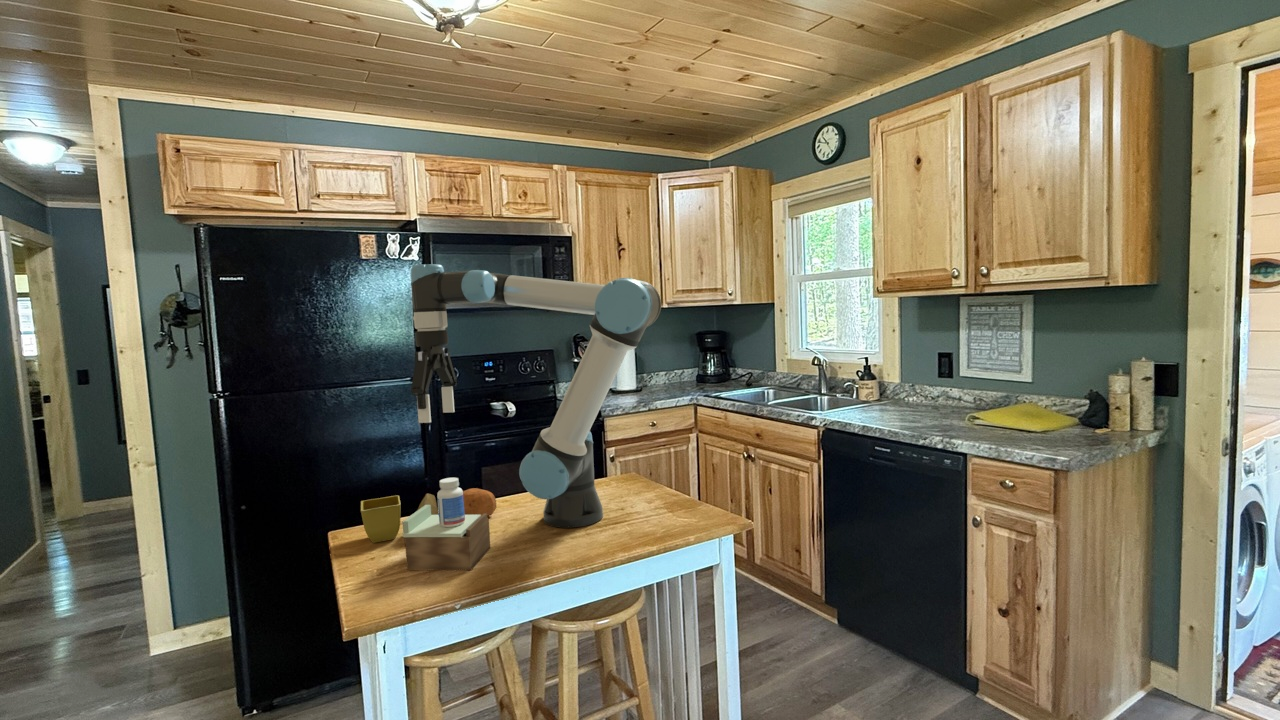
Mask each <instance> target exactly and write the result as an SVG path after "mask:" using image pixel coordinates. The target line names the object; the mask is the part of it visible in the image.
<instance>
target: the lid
mask: <svg viewBox="0 0 1280 720" xmlns="http://www.w3.org/2000/svg"><path fill="white" fill-rule="evenodd" d="M417 510H418V509H417ZM417 510H416V511H415V512H414V513H412V514H410V516H408V517H407V518H405V519H404V520H403V521H402V523H401V524H402V538H405V537H462V536H463V535H464V534H465V533H466V530H467V529H468V528H469V527H470V526H471V525H472V524H473V523H474V522H475V521H476V520H477V519H478V518H479V517H480V516H481V515H465V522H464V523H463V524H461V525H458V526H455V527H442V526H441V525H440V523H439V515H431V505H425V506H423V507H422V508H420V509H419V510H418V511H417Z"/></svg>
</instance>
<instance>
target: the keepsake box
mask: <svg viewBox="0 0 1280 720" xmlns="http://www.w3.org/2000/svg"><path fill="white" fill-rule="evenodd" d="M490 533H491V532H490V519H489V517H488V516H487V513H484V514H482V515H481V516H480V517H479V518H478V519H477V520H476V521H475V522H474V523H473V524H472V525H471V526H470V527H469V528H468V529H467V530H466V533H465V534H464V535H463V536H462V537H404V541H405V542H404V543H405V544H404V545H405V555H406V556H405V557H406V558H405V559H406V567H407V568H406V570H407V571H472V570H473V569H474V568H475V566H476V565H477V564H478V563H479V562H480V561H481V560H482V559H483V557H484V556H485V555H486V554H487V553H488V552H489V550H490V549H491V534H490Z"/></svg>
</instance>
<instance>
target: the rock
mask: <svg viewBox="0 0 1280 720" xmlns="http://www.w3.org/2000/svg"><path fill="white" fill-rule="evenodd" d="M425 505H431V515H439V512H438V503H437V500H436V497H435V495H434V494H431V493H425V495H424V496H423V498H422V500H421V502H420V503H419V506H418V508H417V510H416V511H418V510H419V509H420V508H422V507H423V506H425Z"/></svg>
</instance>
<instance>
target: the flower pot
mask: <svg viewBox="0 0 1280 720" xmlns="http://www.w3.org/2000/svg"><path fill="white" fill-rule="evenodd" d="M400 499H401V498H400V495H398V494H397V495H396V494H395V495H391V496H385V497H380V498H379V497H378V498H371V499H366V500H361V501H360V513H361V518H362V519H361V520H362V523H363V528H364V531H365V533H366V536H367V538H368V539H369V540H370V541H371V542H372V543H373V544H376V543H379V542H386V541H391V540H395V539H396V538H397V536H398V534H399V530H400V528H401V509H402V508H401V500H400Z"/></svg>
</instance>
